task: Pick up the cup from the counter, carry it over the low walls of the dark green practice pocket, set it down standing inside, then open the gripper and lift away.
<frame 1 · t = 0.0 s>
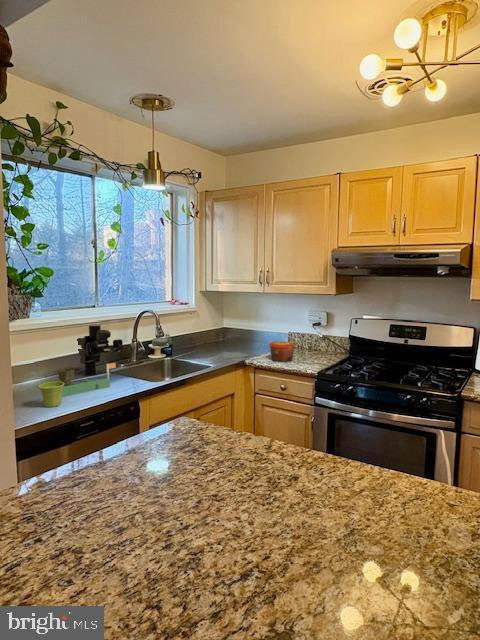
hand: (112, 349, 202), 17 cm above the countertop, tool horizontal, fingers open, 9 cm apart
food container: (281, 360, 259), on the countertop
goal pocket: (76, 389, 193), on the countertop
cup: (66, 385, 200), on the countertop
plant pot: (52, 405, 169), on the countertop
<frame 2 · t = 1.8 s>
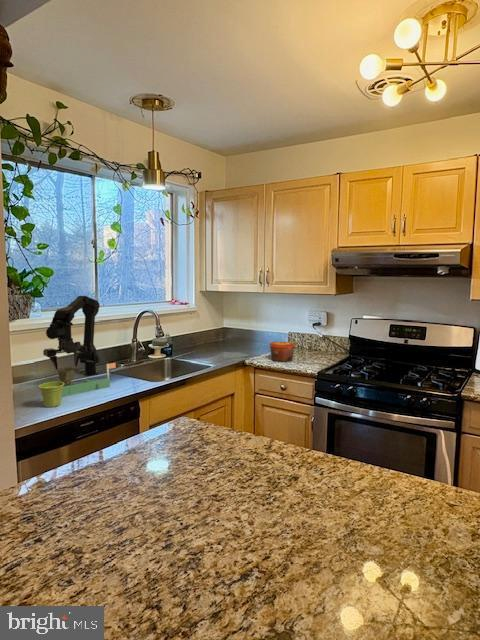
hand: (66, 368, 199), 8 cm above the countertop, tool pointing down, fingers open, 9 cm apart
nothing on the countertop moved.
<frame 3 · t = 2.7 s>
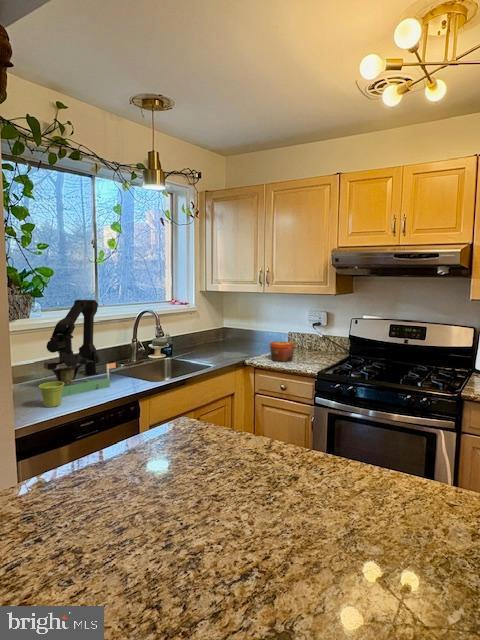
hand: (66, 380, 200), 2 cm above the countertop, tool pointing down, fingers closed on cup, 6 cm apart
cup: (66, 385, 200), on the countertop, touching gripper
everything else where it was.
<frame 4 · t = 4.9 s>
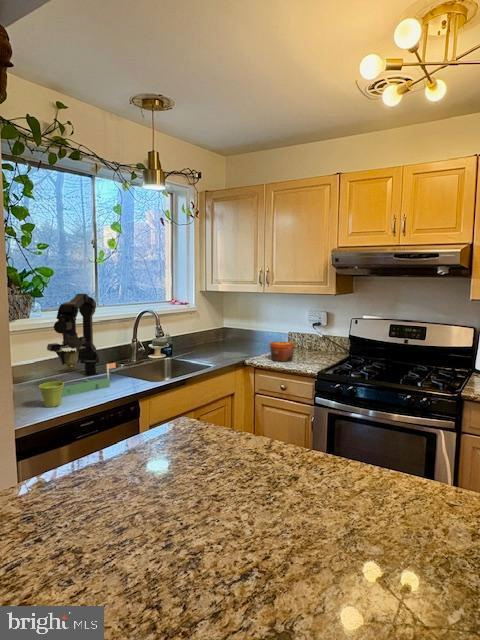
hand: (70, 363, 194), 11 cm above the countertop, tool pointing down, fingers closed on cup, 6 cm apart
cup: (70, 368, 195), point 9 cm above the countertop, touching gripper
everything else where it was.
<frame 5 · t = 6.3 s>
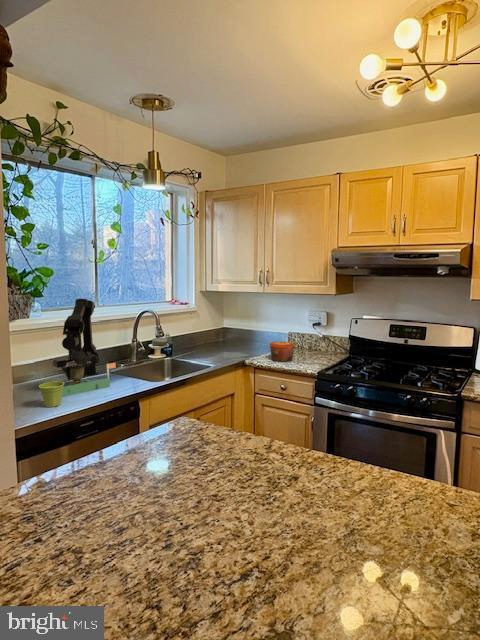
hand: (76, 379, 192), 5 cm above the countertop, tool pointing down, fingers closed on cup, 6 cm apart
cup: (76, 383, 192), point 3 cm above the countertop, touching gripper
everything else where it was.
when the fingers open (3 cm above the countertop, at t = 7.1 s): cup drops 1 cm, on the countertop.
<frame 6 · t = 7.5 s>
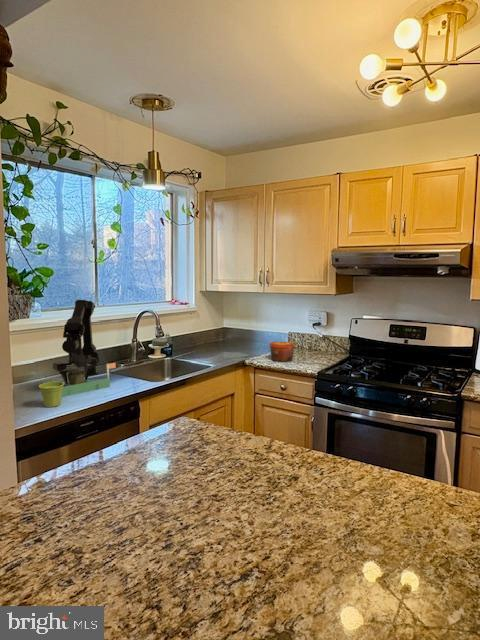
hand: (76, 382, 192), 3 cm above the countertop, tool pointing down, fingers open, 9 cm apart
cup: (76, 389, 193), on the countertop
everything else where it was.
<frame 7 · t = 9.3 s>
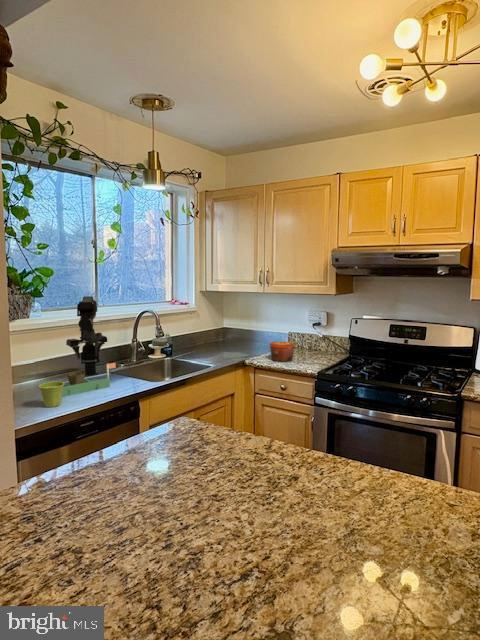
hand: (87, 357, 207), 12 cm above the countertop, tool pointing down, fingers open, 9 cm apart
nothing on the countertop moved.
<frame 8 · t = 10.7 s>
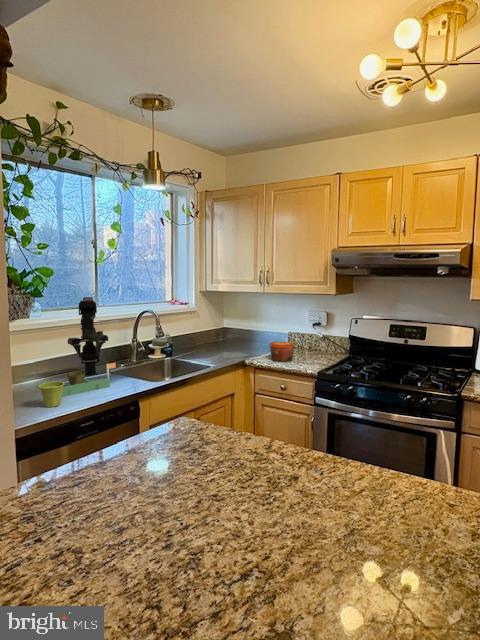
hand: (88, 356, 208), 12 cm above the countertop, tool pointing down, fingers open, 9 cm apart
nothing on the countertop moved.
at the end: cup inside the target area on the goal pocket (0.3 cm from its centre), point 0.0 cm above the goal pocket's base; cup tilted 0°; the gripper is holding nothing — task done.
